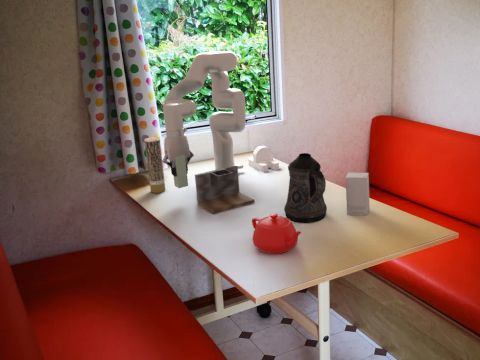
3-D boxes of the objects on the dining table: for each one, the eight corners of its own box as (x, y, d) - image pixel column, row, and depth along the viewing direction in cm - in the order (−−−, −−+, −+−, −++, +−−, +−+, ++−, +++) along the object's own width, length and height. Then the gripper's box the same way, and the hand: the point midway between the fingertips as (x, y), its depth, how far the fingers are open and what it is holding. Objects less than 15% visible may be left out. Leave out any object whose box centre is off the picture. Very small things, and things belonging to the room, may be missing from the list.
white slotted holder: (262, 172, 276) (261, 151, 273) (247, 164, 292) (246, 144, 289) (279, 169, 280) (278, 148, 276) (264, 161, 295) (263, 141, 292)
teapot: (237, 244, 196) (234, 212, 192) (270, 231, 205) (268, 200, 201) (285, 267, 177) (283, 232, 174) (319, 251, 186) (318, 218, 182)
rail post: (183, 183, 243) (179, 148, 237) (188, 185, 239) (184, 150, 234) (174, 185, 240) (170, 150, 235) (179, 188, 237) (174, 152, 232)
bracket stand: (237, 194, 247) (235, 165, 243) (254, 202, 235) (252, 172, 231) (197, 204, 237) (194, 174, 233) (213, 214, 226) (210, 182, 222)
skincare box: (369, 210, 219) (369, 172, 214) (367, 216, 213) (367, 177, 208) (348, 208, 222) (348, 171, 217) (345, 214, 216) (345, 176, 211)
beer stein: (297, 205, 228) (295, 147, 221) (341, 213, 218) (340, 151, 210) (276, 219, 216) (273, 157, 208) (321, 228, 205) (320, 163, 197)
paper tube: (166, 188, 261) (161, 136, 254) (163, 193, 255) (157, 140, 247) (152, 188, 262) (146, 137, 255) (149, 193, 256) (142, 141, 248)
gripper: (189, 127, 239) (193, 168, 245) (152, 135, 231) (158, 176, 237) (197, 130, 233) (201, 172, 239) (160, 138, 225) (165, 181, 231)
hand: (180, 173), depth 238 cm, fingers closed on rail post, 4 cm apart
